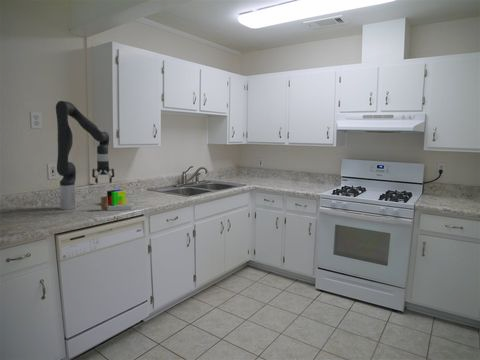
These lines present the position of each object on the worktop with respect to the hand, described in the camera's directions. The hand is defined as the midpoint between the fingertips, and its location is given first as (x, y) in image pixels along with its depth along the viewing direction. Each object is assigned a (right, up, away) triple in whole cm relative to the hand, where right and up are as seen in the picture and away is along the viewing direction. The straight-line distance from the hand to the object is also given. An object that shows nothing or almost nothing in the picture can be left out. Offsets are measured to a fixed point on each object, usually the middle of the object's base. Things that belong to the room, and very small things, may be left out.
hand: (103, 183), depth 230 cm
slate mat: (+8, -19, +9) cm, 22 cm away
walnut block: (-1, -19, +3) cm, 19 cm away
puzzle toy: (0, -16, +25) cm, 30 cm away
